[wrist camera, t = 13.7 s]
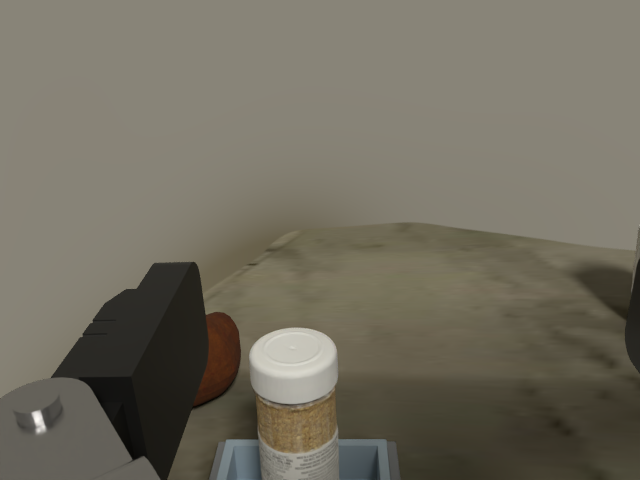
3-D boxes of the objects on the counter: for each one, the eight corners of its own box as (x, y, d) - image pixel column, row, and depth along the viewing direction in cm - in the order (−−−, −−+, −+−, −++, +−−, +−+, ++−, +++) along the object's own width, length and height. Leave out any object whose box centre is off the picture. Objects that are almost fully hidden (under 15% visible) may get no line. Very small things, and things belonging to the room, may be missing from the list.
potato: (267, 371, 55) (262, 308, 52) (204, 436, 47) (195, 365, 44) (204, 354, 58) (197, 293, 55) (135, 411, 50) (123, 344, 47)
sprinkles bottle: (323, 500, 39) (317, 316, 34) (354, 556, 35) (352, 359, 30) (255, 523, 37) (237, 335, 32) (279, 585, 34) (263, 382, 28)
